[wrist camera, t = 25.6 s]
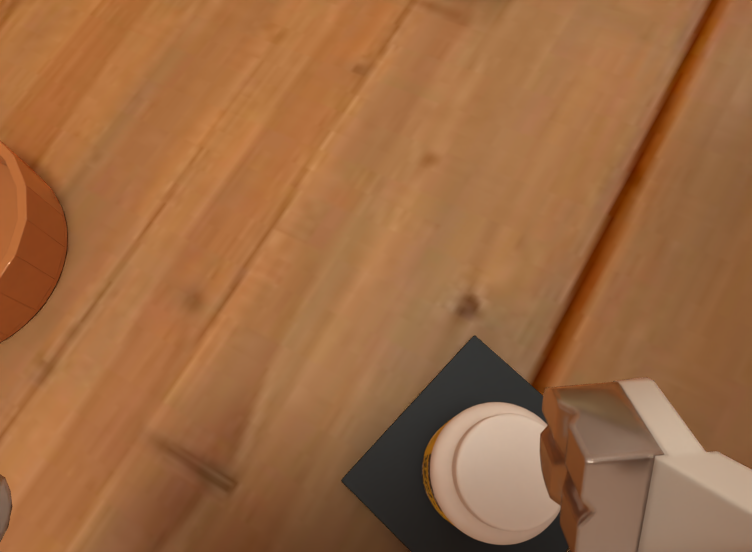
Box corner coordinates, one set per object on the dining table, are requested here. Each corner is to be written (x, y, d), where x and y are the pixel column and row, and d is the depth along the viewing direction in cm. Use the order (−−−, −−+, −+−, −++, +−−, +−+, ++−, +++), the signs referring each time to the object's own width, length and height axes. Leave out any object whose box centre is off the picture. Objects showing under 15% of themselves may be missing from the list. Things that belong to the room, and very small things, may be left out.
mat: (472, 337, 35) (474, 334, 34) (623, 472, 33) (629, 472, 32) (341, 480, 33) (340, 480, 32) (494, 634, 31) (497, 638, 30)
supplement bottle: (398, 455, 32) (405, 444, 23) (488, 395, 33) (530, 361, 24) (461, 555, 31) (495, 586, 22) (553, 490, 32) (624, 494, 22)
